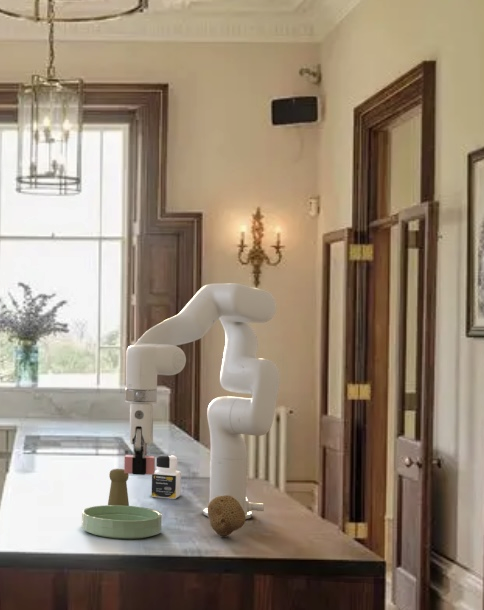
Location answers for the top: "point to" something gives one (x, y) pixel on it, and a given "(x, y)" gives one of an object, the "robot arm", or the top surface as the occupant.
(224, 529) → the natural sponge
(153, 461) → the eraser
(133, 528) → the bowl
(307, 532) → the top surface
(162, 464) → the medicine bottle
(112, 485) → the cork
